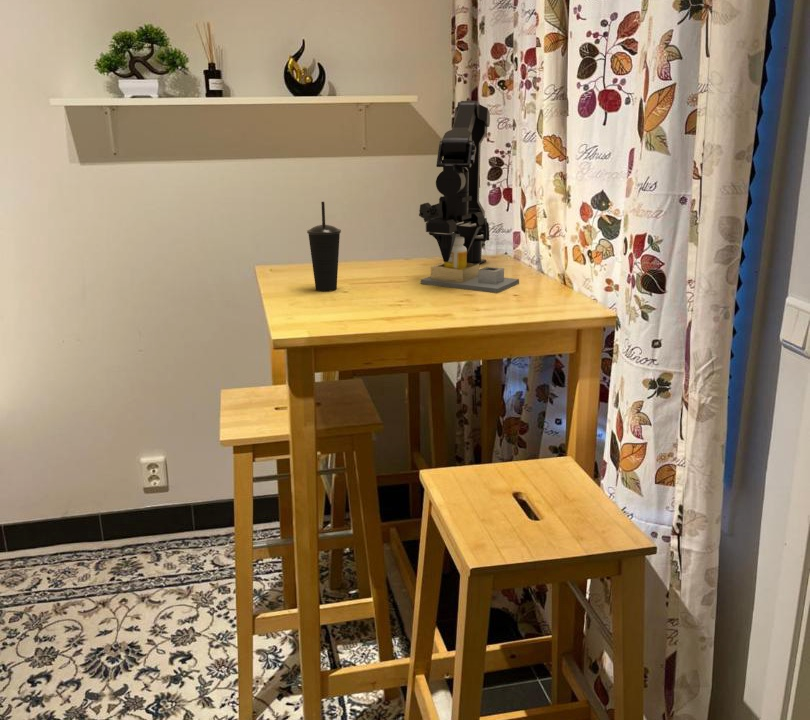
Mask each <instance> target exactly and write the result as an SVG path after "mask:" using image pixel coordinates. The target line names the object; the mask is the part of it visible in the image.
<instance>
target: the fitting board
mask: <svg viewBox="0 0 810 720" xmlns="http://www.w3.org/2000/svg"><path fill="white" fill-rule="evenodd" d="M420 284H421V285H428V286H435V287H436V286H437V287H443V288H444V287H445V288H452V289H461V290H467V291H469V290H470V291H476V292H477V291H478V292H485V293H492V294H493V293H494V294H499V293H501V292H503V291H505V290H508V289H509V288H512V287H514V286H516V285H519V284H520V279H519V278H512V277H504V281H503V282H501V283H498V284H496V285H495V284H486V283H478V277H476V278H474V279H471V280H469V281H466V282H463V283H460V282H451V281H443V280H434V279H431V275H429V276H427V277H424V278H422V279H420Z"/></svg>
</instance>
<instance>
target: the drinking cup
mask: <svg viewBox="0 0 810 720" xmlns="http://www.w3.org/2000/svg"><path fill="white" fill-rule="evenodd" d="M325 205H326V204H325V201H321V224H319V225H314V226H312V228H308V230H306V233H307V235H308V241H309V249H310V255H311V262H312V271H313V272H312V273H313V278H314V279H313V280H314V285H315V287H314V288H315V291H318V292H334V291H336V290H337V288H338V270H339V253H340V252H339V251H340V238H341V237H340V236H341V235H340V234H341V233H342V229H340V228H338V227H335V226H333V225H329V224H326V209H325Z"/></svg>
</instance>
